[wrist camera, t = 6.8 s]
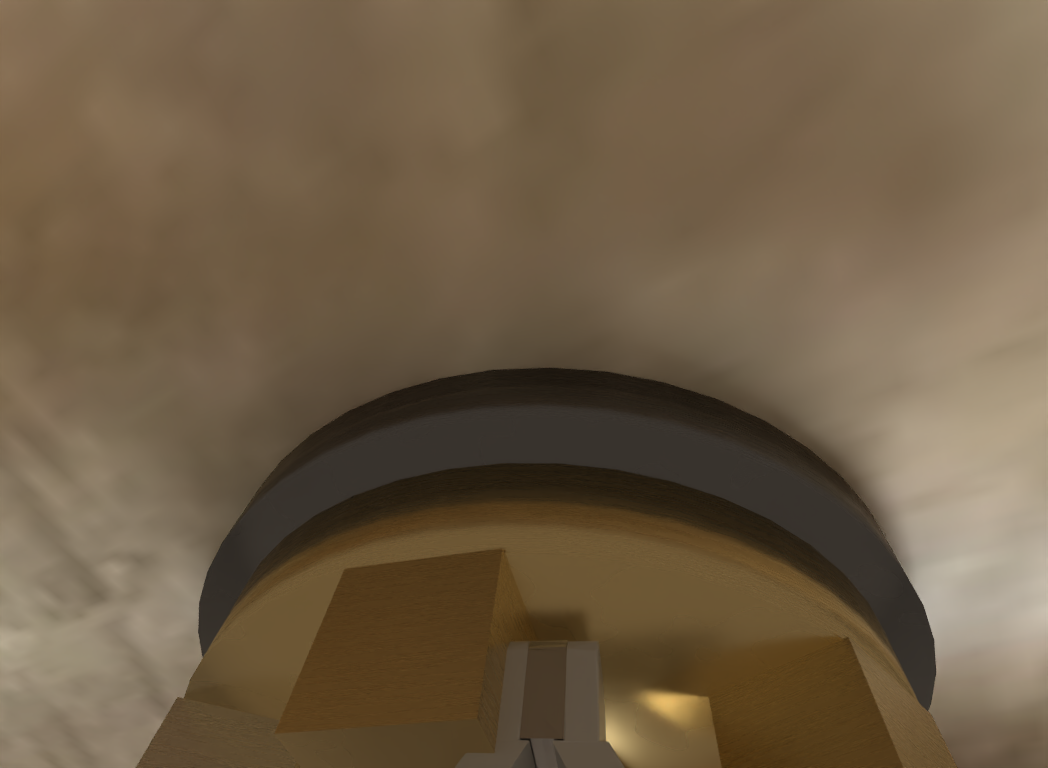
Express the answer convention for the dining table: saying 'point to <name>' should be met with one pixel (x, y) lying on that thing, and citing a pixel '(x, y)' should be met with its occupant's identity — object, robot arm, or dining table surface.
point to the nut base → (585, 440)
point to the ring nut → (546, 632)
